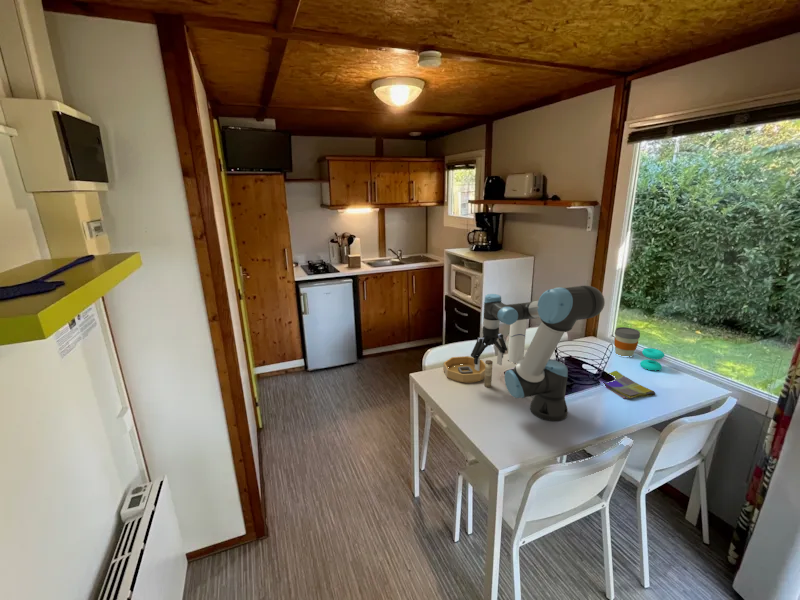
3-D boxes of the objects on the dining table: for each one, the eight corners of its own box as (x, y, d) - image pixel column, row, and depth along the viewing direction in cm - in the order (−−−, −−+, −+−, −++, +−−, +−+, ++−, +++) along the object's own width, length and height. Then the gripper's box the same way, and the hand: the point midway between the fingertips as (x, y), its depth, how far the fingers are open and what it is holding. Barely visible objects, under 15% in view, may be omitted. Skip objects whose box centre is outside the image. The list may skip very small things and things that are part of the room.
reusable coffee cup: (640, 355, 218) (644, 331, 214) (629, 361, 212) (633, 336, 208) (619, 348, 228) (622, 325, 224) (607, 353, 222) (610, 329, 218)
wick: (492, 387, 185) (493, 362, 181) (485, 387, 184) (486, 363, 181) (489, 383, 188) (491, 360, 184) (483, 384, 187) (484, 360, 184)
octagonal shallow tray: (492, 381, 190) (492, 372, 189) (450, 384, 188) (450, 375, 187) (478, 363, 211) (478, 355, 210) (440, 365, 209) (440, 358, 207)
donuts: (647, 345, 207) (667, 351, 199) (644, 362, 210) (664, 368, 202) (639, 350, 201) (660, 356, 194) (636, 367, 204) (657, 373, 196)
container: (525, 363, 210) (529, 312, 202) (509, 363, 210) (513, 312, 202) (520, 357, 218) (524, 308, 210) (506, 357, 218) (509, 308, 210)
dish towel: (616, 373, 198) (617, 369, 197) (657, 396, 175) (659, 391, 174) (588, 378, 194) (589, 373, 193) (627, 402, 171) (628, 396, 170)
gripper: (506, 320, 186) (503, 359, 192) (464, 328, 176) (462, 368, 182) (516, 324, 180) (513, 365, 186) (474, 333, 169) (471, 375, 175)
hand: (488, 367), depth 184 cm, fingers open, 13 cm apart
